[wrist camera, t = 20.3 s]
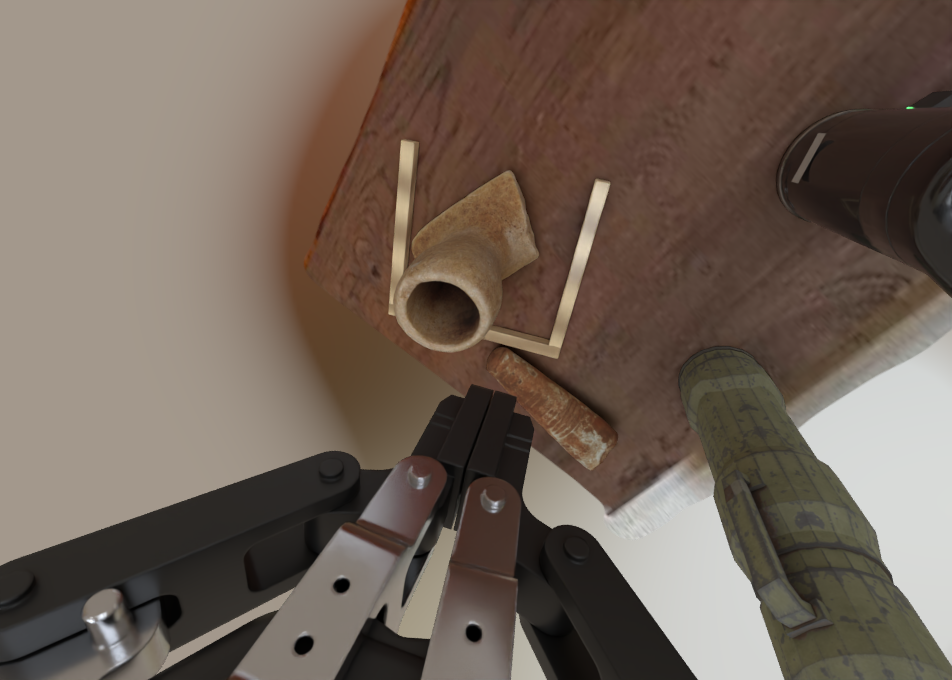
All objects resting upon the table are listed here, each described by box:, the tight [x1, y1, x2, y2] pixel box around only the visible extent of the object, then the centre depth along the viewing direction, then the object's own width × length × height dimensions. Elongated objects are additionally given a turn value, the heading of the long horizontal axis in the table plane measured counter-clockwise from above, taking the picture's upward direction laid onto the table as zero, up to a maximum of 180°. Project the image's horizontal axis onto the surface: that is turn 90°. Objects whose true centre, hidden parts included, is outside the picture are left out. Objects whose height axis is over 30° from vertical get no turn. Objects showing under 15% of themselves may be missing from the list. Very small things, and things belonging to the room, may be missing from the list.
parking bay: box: [388, 140, 610, 359], centre depth 49 cm, size 20×22×2 cm
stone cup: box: [393, 171, 539, 352], centre depth 43 cm, size 15×12×15 cm
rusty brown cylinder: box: [486, 347, 618, 471], centre depth 54 cm, size 6×19×6 cm, turn 50°
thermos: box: [678, 346, 952, 680], centre depth 35 cm, size 9×12×35 cm
